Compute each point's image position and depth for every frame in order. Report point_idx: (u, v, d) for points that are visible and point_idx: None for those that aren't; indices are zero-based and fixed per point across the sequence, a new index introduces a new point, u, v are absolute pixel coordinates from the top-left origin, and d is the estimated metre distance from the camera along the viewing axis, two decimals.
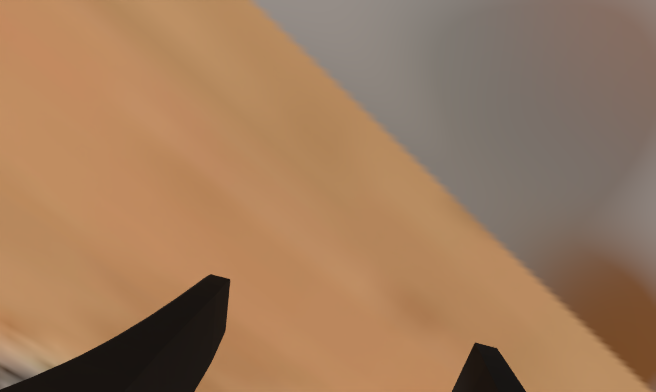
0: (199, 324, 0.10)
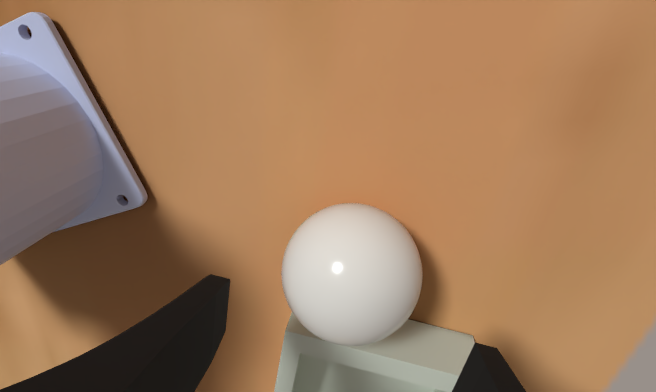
0: (199, 324, 0.10)
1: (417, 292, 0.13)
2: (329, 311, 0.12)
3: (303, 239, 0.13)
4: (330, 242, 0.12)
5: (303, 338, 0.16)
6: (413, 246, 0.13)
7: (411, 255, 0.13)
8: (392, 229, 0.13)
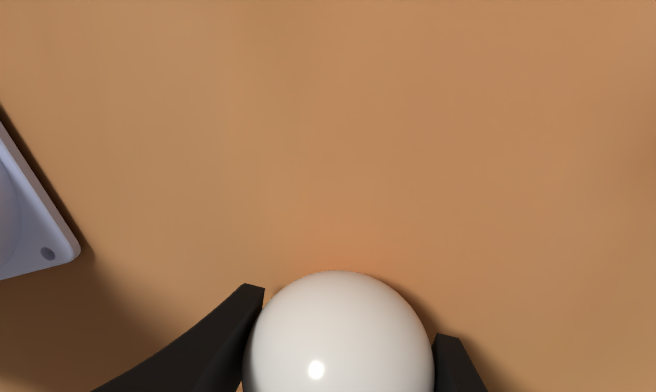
0: (239, 335, 0.10)
1: None
2: None
3: (267, 333, 0.09)
4: (303, 343, 0.09)
5: None
6: (422, 339, 0.10)
7: (421, 356, 0.09)
8: (393, 319, 0.09)
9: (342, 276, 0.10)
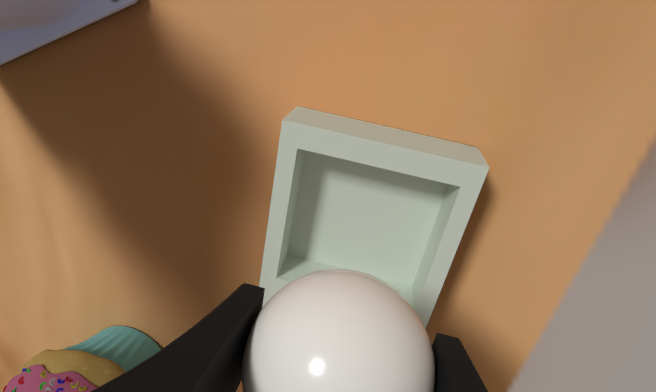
0: (239, 335, 0.10)
1: None
2: None
3: (267, 331, 0.09)
4: (303, 341, 0.09)
5: (301, 128, 0.15)
6: (423, 338, 0.10)
7: (421, 355, 0.09)
8: (393, 318, 0.09)
9: (342, 274, 0.10)
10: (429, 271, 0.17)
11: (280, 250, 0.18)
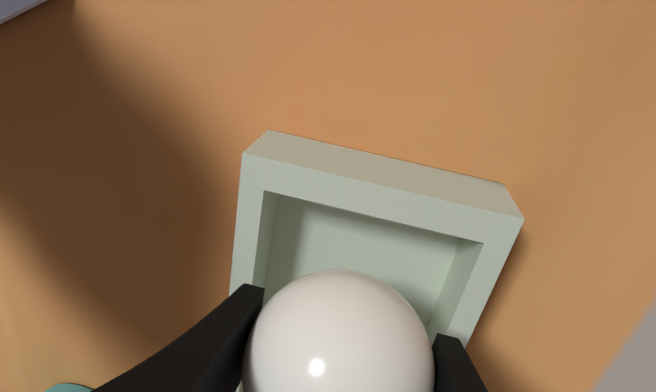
0: (238, 335, 0.10)
1: None
2: None
3: (268, 331, 0.09)
4: (304, 342, 0.09)
5: (267, 164, 0.11)
6: (422, 338, 0.10)
7: (420, 355, 0.09)
8: (393, 318, 0.09)
9: (342, 275, 0.10)
10: None
11: None
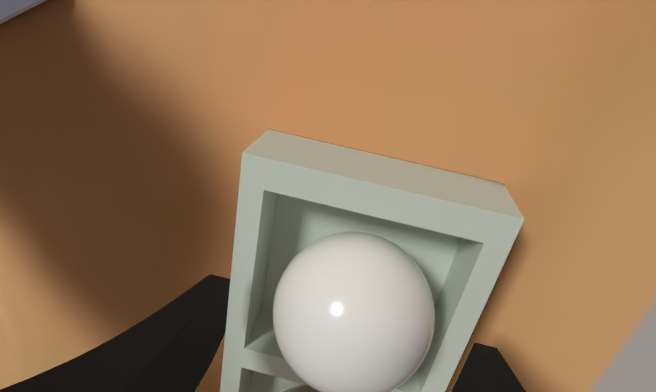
0: (199, 324, 0.10)
1: (431, 334, 0.12)
2: (335, 368, 0.10)
3: (298, 282, 0.11)
4: (332, 286, 0.11)
5: (267, 164, 0.11)
6: (424, 281, 0.12)
7: (424, 293, 0.11)
8: (401, 264, 0.11)
9: (355, 234, 0.12)
10: (440, 345, 0.13)
11: (248, 315, 0.14)
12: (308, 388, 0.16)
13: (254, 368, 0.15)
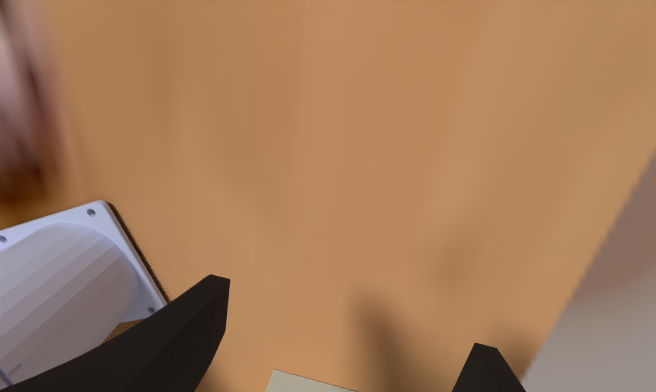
0: (199, 324, 0.10)
1: None
2: None
3: None
4: None
5: None
6: None
7: None
8: None
9: None
10: None
11: None
12: None
13: None
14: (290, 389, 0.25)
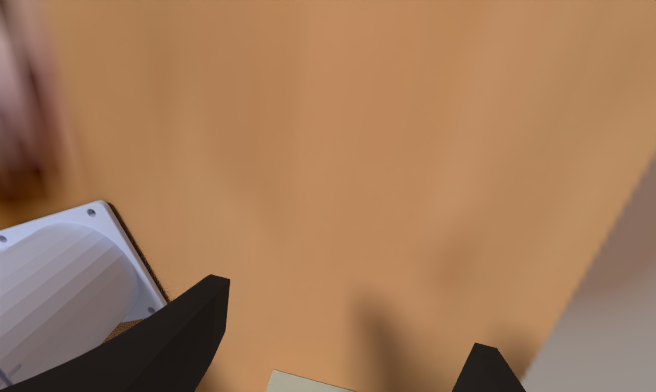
0: (198, 324, 0.10)
1: None
2: None
3: None
4: None
5: None
6: None
7: None
8: None
9: None
10: None
11: None
12: None
13: None
14: (290, 389, 0.25)
